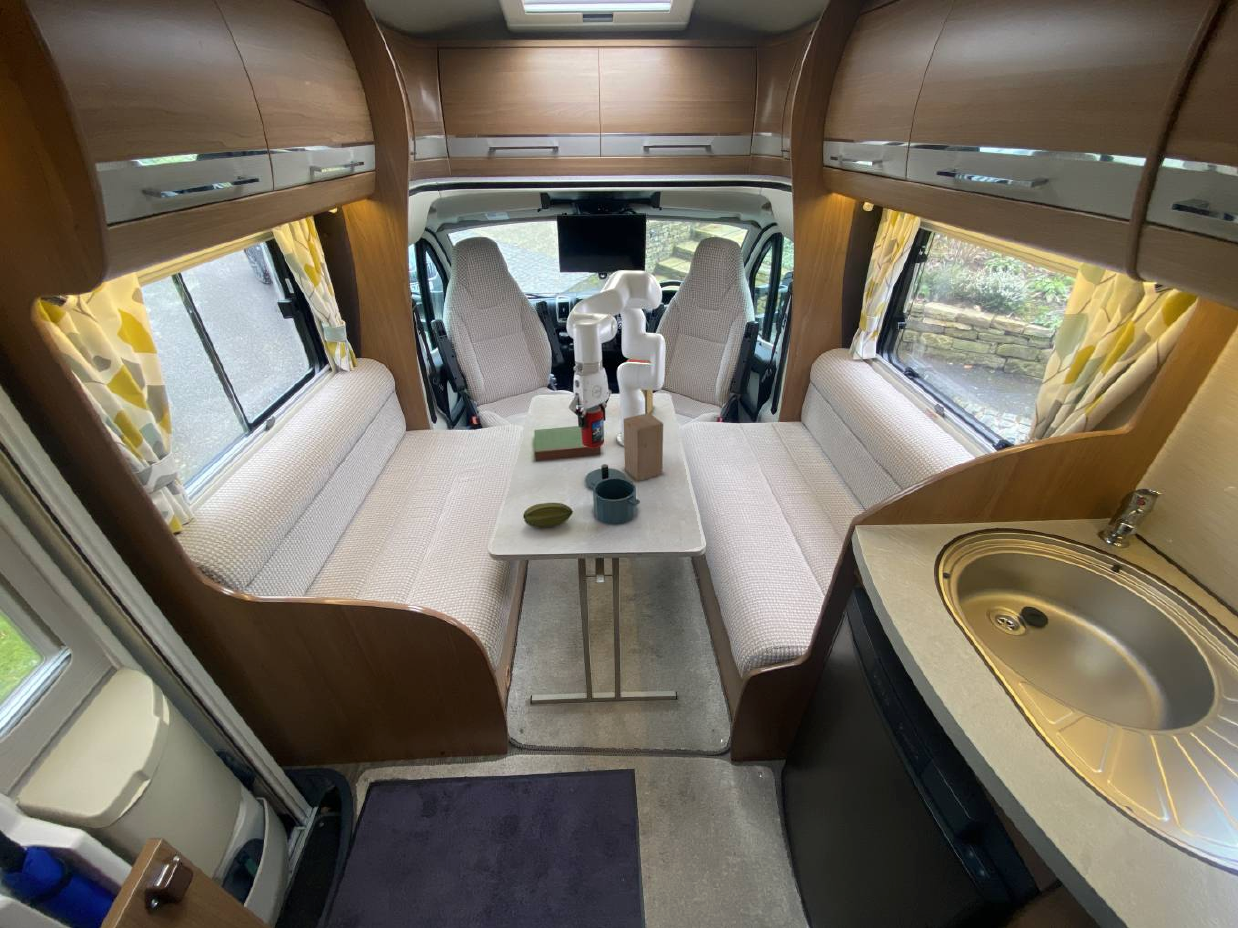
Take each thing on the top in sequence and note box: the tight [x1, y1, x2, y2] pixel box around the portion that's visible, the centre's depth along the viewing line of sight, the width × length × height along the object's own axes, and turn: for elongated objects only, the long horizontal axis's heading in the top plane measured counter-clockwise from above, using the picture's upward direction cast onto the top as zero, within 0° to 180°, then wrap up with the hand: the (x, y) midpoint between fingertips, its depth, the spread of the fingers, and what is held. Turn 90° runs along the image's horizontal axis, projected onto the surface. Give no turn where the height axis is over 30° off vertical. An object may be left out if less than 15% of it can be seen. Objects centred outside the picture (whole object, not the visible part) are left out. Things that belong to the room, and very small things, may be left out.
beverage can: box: [581, 405, 605, 448], centre depth 148 cm, size 7×7×12 cm
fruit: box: [522, 502, 574, 529], centre depth 149 cm, size 11×12×7 cm
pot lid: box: [584, 463, 626, 489], centre depth 170 cm, size 14×14×6 cm
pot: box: [591, 478, 641, 525], centre depth 154 cm, size 13×18×8 cm
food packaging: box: [626, 358, 654, 414], centre depth 214 cm, size 13×9×25 cm
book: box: [533, 425, 601, 462], centre depth 193 cm, size 25×19×4 cm
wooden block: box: [623, 413, 664, 482], centre depth 171 cm, size 10×10×20 cm
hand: (592, 423), depth 147 cm, fingers closed on beverage can, 6 cm apart
